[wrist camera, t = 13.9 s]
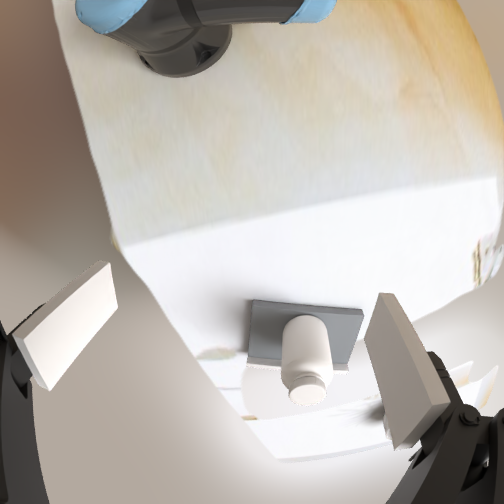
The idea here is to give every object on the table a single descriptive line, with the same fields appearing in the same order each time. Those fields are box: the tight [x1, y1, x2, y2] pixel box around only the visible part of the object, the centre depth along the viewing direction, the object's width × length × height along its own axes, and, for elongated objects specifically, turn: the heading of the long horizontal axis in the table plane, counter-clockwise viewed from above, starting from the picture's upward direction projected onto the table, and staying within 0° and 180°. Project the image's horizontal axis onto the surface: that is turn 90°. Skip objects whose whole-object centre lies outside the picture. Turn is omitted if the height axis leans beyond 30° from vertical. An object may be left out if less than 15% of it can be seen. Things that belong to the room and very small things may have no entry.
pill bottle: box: [281, 315, 333, 406], centre depth 41 cm, size 8×8×15 cm
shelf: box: [246, 300, 364, 374], centre depth 49 cm, size 14×20×4 cm
